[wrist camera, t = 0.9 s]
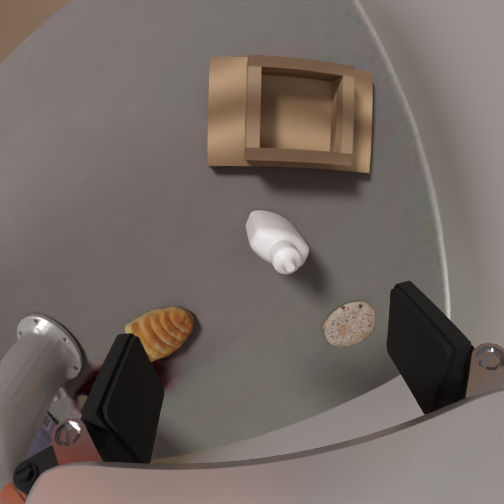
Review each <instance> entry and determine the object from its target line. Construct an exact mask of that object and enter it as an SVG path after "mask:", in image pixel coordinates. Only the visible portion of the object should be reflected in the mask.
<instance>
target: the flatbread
mask: <svg viewBox="0 0 504 504" xmlns="http://www.w3.org/2000/svg"><path fill="white" fill-rule="evenodd" d="M374 325H375V311H374V310H373V308H372V307H371V306H370V305H369V304H368V303H366V302H362V301H358V302H352V303H348V304H345V305H343V306H341V307H339V308H338V309H336V310H335V311H334V312H333V313H332V314H331V315H330V316H329V317H328V319H327V320H326V321H325V323H324V324H323V331H324V334H325V337H326V339H327V341H328V343H329V344H331V345H333V346H337V347H348V346H351V345H354V344H357V343H359V342H361V341H363V340H364V339H365V338H366V337H368V336H369V335H370V334H371V333H372V331H373V329H374Z"/></svg>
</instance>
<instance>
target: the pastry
mask: <svg viewBox="0 0 504 504" xmlns="http://www.w3.org/2000/svg"><path fill="white" fill-rule="evenodd" d="M193 324H194V317H193V316H192V314H191V313H190V312H189V311H187V310H186V309H184V308H181V307H170V308H164V309H154V310H152V311H150V312H147V313H145V314H143V316H140V317H139V318H137V319H135V320H134V321H133V322H130V323H128V324H127V325H126V327H125V331H126V334H127V333H133V334H134V335H135V336H138V337H139V338H140V340H141V342H142V344H143V347H144V349H145V351H146V353H147V355H148V357H149V359H150V361H154V360H156V359H159V358H163V357H166V356H168V355H170V354H171V353H172V352H174V351H176V350H177V349H178V348H179V347H181V346H182V344H183V343H184V342H185V341H186V339H187V337H188V336H189V334H190V333H192V331H193Z"/></svg>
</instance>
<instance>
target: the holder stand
mask: <svg viewBox="0 0 504 504" xmlns="http://www.w3.org/2000/svg"><path fill="white" fill-rule="evenodd" d="M372 101H373V81H372V73H370V72H365V71H360V70H355V69H354V67H352V66H347V65H341V64H335V63H329V62H323V61H315V60H308V59H299V58H290V57H278V56H264V55H249V57H210V74H209V103H208V166H266V167H293V168H312V169H328V170H341V171H353V172H364V173H369V171H370V156H371V137H372Z"/></svg>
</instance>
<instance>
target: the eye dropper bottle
mask: <svg viewBox="0 0 504 504" xmlns="http://www.w3.org/2000/svg"><path fill="white" fill-rule="evenodd" d="M246 231H247V235H248V239H249V243H250V246H251V248H252V249H253V250H254V252H255V253H256V254H258V255H259V256H260V257H261V258H263V259H264V260H266V261H267V262H269V263H271V264H273V266H274V268H275V270H276V271H277V272H280V273H281V274H290V273H293V272H295V271H296V270H297V269H298V268H299V267H300V266H302V265H303V264H304V262H305V260H306V258H307V256H308V254H309V247H308V245H307V244H306V242H305V241H304V239H303V238H302V237H301V235H300V234H299V233H298V231H297V230H296V229H295V228H294V226H293V225H292V224H291V223H290V222H289V221H288V220H286V219H285V218H283V217H282V216H280V215H278V214H275V213H273V212H269V211H261V210H257V211H253V212H252V213H251V214H250V216H249V218H248V220H247V223H246Z"/></svg>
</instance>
